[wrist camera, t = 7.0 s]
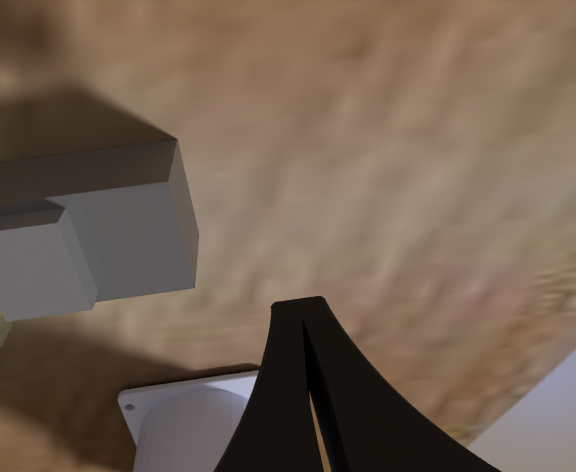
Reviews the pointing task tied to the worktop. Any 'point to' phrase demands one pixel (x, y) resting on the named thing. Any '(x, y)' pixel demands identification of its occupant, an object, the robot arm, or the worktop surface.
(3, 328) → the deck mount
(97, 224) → the stepped gray box
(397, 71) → the worktop surface
